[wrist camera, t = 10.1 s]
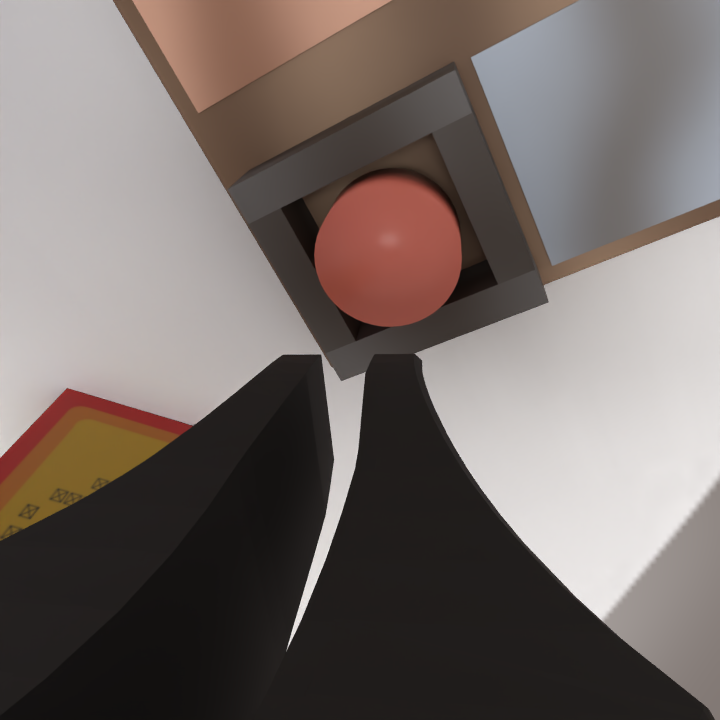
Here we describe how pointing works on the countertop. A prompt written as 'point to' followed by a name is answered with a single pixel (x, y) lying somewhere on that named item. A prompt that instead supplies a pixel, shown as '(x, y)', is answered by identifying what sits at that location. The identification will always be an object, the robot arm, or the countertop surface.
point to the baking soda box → (75, 455)
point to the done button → (389, 248)
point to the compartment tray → (450, 132)
